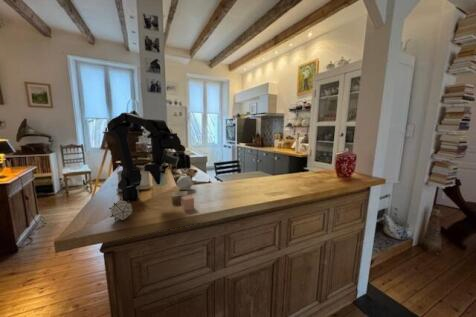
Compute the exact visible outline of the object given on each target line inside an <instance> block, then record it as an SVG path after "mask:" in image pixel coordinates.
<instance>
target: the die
mask: <svg viewBox="0 0 476 317" xmlns="http://www.w3.org/2000/svg"><path fill="white" fill-rule="evenodd" d="M193 184H194V182H193V180H192V178H191V176H190V175H180V176H179V178H178V179H177V181H176V185H177V188H178V189H179V190H178V191H190V190H191V188H192V187H193Z"/></svg>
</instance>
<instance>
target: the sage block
mask: <svg viewBox="0 0 476 317" xmlns="http://www.w3.org/2000/svg"><path fill="white" fill-rule="evenodd" d="M167 179H168V178H167V172H165V173H161V179H160V184H157V183H156V181H155V180H154V178H153V177H152V181H153V187H165V186H166V185H167V184H168V180H167Z"/></svg>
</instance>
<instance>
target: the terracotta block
mask: <svg viewBox="0 0 476 317" xmlns="http://www.w3.org/2000/svg"><path fill="white" fill-rule="evenodd" d="M180 205H181V206H180V207H181V209H182V210H183V211H184V212H185V211H189V210H190V211H191V210H194V209H195V198H194V197H193V196H192V195H188V196H183V197H181V203H180Z"/></svg>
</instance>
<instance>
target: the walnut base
mask: <svg viewBox="0 0 476 317" xmlns="http://www.w3.org/2000/svg"><path fill="white" fill-rule="evenodd" d="M188 192H189V190H178V191H173V192H172V195H171V204H172V205H177V204H180V205H181V197H183V196H189V195H188V194H189V193H188Z"/></svg>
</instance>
